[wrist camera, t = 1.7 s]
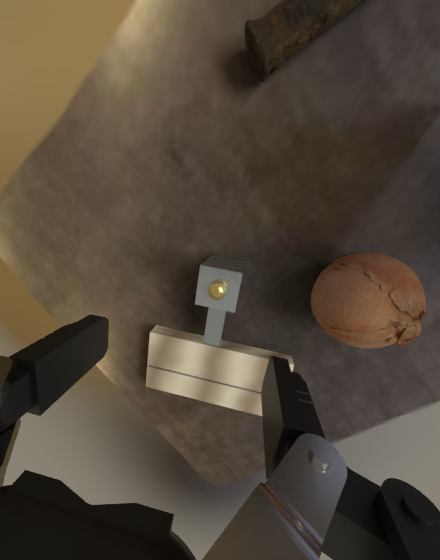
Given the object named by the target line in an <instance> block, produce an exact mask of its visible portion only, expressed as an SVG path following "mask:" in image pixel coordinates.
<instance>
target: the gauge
mask: <svg viewBox="0 0 440 560" xmlns="http://www.w3.org/2000/svg"><path fill="white" fill-rule="evenodd" d="M244 264H245V260H243V259H238V258H232V257H227V256H222V255H217V254H213V255H212V256H210V257H209V258H208V259H207V260H206V261H204V262H203V263H202V264H201V265H200V270H199V277H198V285H197V292H196V299H195V304H196V305H200V306H205V307H209V309H208V315H207V321H206V328H205V334H204V340H203V342H204V343H209V344H213V345H217V346H220V342H221V338H222V332H223V327H224V322H225V317H226V311H229V312H233V313H235V309H236V304H237V299H238V294H239V289H240V284H241V279H242V274H243V269H244Z"/></svg>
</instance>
